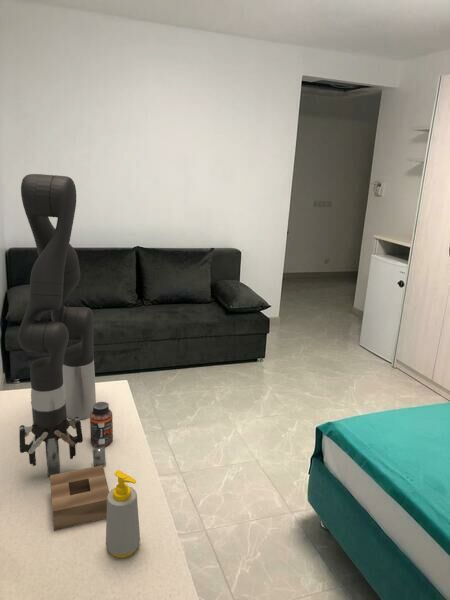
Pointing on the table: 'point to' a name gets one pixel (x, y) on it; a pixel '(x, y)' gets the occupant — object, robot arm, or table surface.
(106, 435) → the supplement bottle
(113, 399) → the table surface
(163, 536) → the table surface
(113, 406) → the table surface
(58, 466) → the tall pin
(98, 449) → the short pin
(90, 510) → the guide block
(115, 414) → the table surface
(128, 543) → the soap bottle
